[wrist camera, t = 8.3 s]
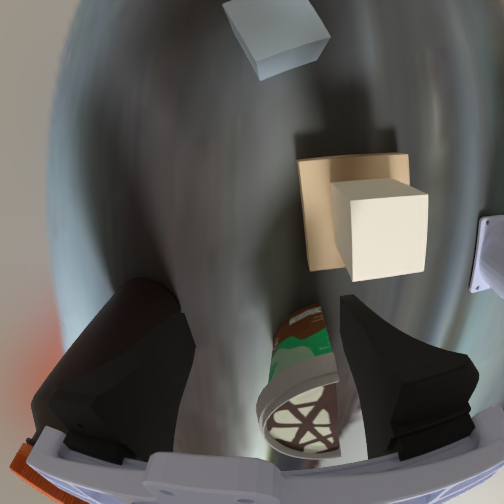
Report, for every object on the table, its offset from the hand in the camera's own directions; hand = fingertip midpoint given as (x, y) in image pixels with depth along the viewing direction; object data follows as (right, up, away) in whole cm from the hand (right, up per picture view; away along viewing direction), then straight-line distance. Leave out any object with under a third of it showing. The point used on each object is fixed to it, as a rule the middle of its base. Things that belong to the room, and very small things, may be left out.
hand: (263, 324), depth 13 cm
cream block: (+7, +6, +6) cm, 11 cm away
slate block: (+1, +18, +4) cm, 19 cm away
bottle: (-10, -2, +13) cm, 17 cm away
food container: (+3, -6, +14) cm, 15 cm away
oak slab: (+7, +7, +9) cm, 13 cm away
